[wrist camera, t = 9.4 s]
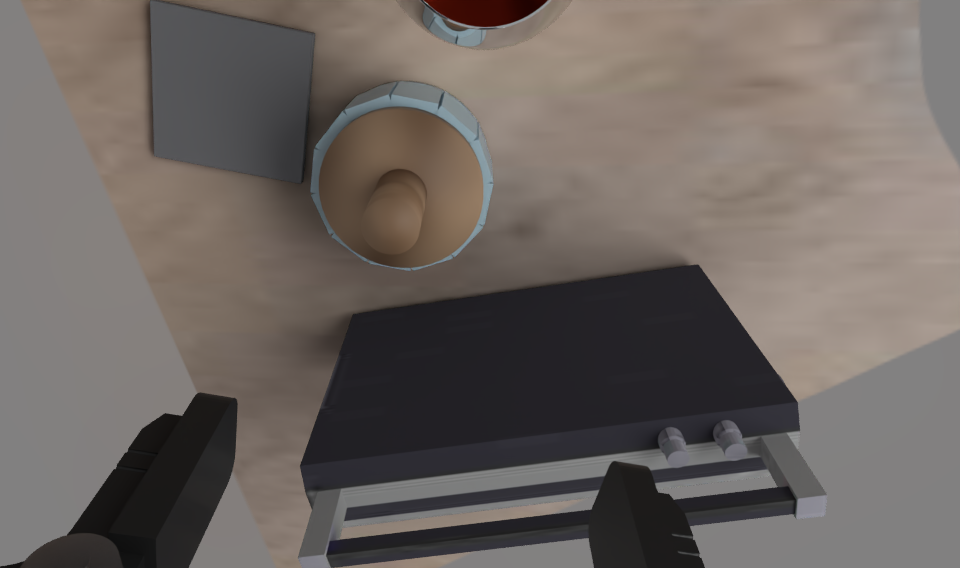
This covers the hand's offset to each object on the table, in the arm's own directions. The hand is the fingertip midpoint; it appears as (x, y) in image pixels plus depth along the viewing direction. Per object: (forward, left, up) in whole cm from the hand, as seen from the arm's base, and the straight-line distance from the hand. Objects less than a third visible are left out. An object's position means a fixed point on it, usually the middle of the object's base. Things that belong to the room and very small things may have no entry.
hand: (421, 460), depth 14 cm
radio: (+12, +8, -29) cm, 33 cm away
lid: (+3, -3, -24) cm, 24 cm away
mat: (+1, -14, -29) cm, 32 cm away
